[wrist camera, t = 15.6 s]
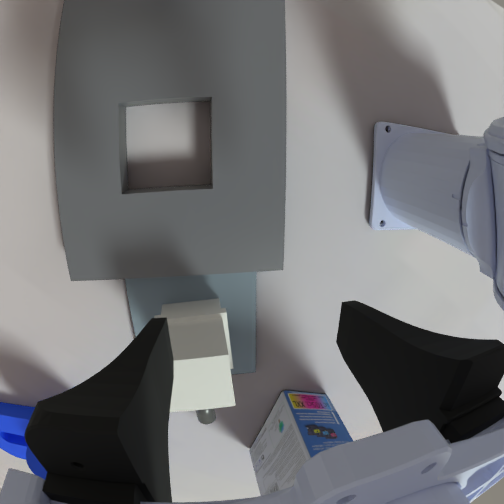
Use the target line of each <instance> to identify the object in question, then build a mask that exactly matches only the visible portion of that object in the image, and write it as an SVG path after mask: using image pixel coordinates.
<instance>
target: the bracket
mask: <svg viewBox="0 0 504 504" xmlns="http://www.w3.org/2000/svg"><path fill="white" fill-rule="evenodd" d="M34 409H35V407H29V406H22V405H15V404H9V403H3V402H0V448H1V449H3V450H4V451H6V452H8V453H9V454H11V455H14V456H16V457H19V458H22V459H26V460H27V464H28V466H29V468H30V469H31V471H32V472H33V473H34V474H35V475H37V476H39V477H41V478H43V479H44V480H45V479H46V475H47V471H46V470H45V468H44V467H43V466H42V465H41V463H40V462H39V461H38V459H37V458H36V457H35V455H34V454H33V453H32V451H31V450H30V448H29V447H28V445H27V443H26V441H25V437H24V434H25V430H26V428H27V425H28V423H29V420H30V418H31V416H32V413H33V411H34Z"/></svg>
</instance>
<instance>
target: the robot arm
mask: <svg viewBox="0 0 504 504" xmlns="http://www.w3.org/2000/svg"><path fill="white" fill-rule="evenodd" d="M386 126H387V127H388V132H386V130H385V128H386ZM382 220H383V224H382V225H380V222H381V221H382ZM369 225H370V227H371V228H372V229H374V230H396V229H418V230H421V231H423V232H425V233H427V234H429V235H431V236H433V237H435V238H437V239H439V240H441V241H443V242H445V243H447V244H450V245H452V246H454V247H455V248H457V249H459V250H461V251H463V252H465V253H467V254H469V255H471V256H473V257H475V258H476V259H477V260H478V262H479V265H480V272H482V273H483V274H485V275H487V276H489V277H490V278H492V279H494V280H493V292H494V296H495V299H496V301H497V303H498V304H499V306H500V307H501V308H502V309H503V310H504V117H502V118H499V119H496V120H494V121H493V122H492V123H491V125H490V126H489V128H488V129H487V130H485V132H484V137H477V136H466V135H453V134H447V133H442V132H438V131H433V130H428V129H423V128H418V127H413V126H407V125H401V124H395V123H389V122H383V121H381V122H377V123H376V124H375V126H374V158H373V179H372V195H371V208H370V220H369ZM336 342H337V345H338V347H339V350H340V352H341V354H342V356H343V359H344V361H345V362H346V364H347V366H348V367H349V369H350V370H351V372H352V374H353V375H354V377H355V378H356V380H357V381H358V383H359V384H360V386H361V388H362V389H363V391H364V392H365V394H366V396H367V397H368V399H369V401H370V403H371V405H372V407H373V409H374V411H375V414H376V416H377V418H378V420H379V423H380V425H381V428H382V430H383V433H379V434H376V435H373V436H370V437H366V438H363V439H359V440H356V441H352V442H349V443H345V444H341V445H337V446H335V447H332V448H330V449H327V450H324V451H321V452H319V453H318V454H316V455H315V456H313V457H312V458H310V459H309V460H307V461H306V462H305V463H304V464H303V465H302V467H301V468H300V470H299V471H298V473H297V474H296V476H295V481H294V485H293V486H292V487H289V488H286V489H283V490H280V491H276V492H273V493H270V494H266V495H263V496H259V497H254V498H245V499H236V500H225V501H211V502H184V503H172V497H171V487H170V474H169V456H168V421H169V413H170V404H171V396H172V388H173V380H174V358H173V352H172V347H171V341H170V335H169V328H168V322H167V317H165V318H151V320H150V321H149V322H148V323H147V324H146V325H145V327H144V328H143V329H142V330H141V332H140V333H139V334H138V335H137V336H136V338H135V339H134V340H133V341H132V342H131V343H130V344H129V346H128V347H127V348H126V349H125V350H124V351H123V352H122V353H121V354H120V355H119V356H118V357H117V358H116V359H114V360H113V361H112V362H111V363H110V364H109V365H107V366H106V367H105V368H104V369H102V370H101V371H100V372H98V373H97V374H95V375H94V376H92V377H91V378H89V379H87V380H86V381H84V382H83V383H81V384H79V385H77V386H75V387H74V388H72V389H70V390H67V391H65V392H63V393H61V394H59V395H56V396H53V397H51V398H48V399H45V400H43V401H39V402H38V403H37V405H36V407H35V409H34V411H33V413H32V416H31V418H30V420H29V423H28V425H27V428H26V430H25V434H24V437H25V441H26V443H27V445H28V447H29V448H30V450H31V451H32V453H33V454H34V455H35V457H36V458H37V459H38V461H39V462H40V463H41V465H42V466H43V467H44V468H45V470H46V471H47V475H46V479H45V480H44V479H43V478H41V477H39V476H37V475H34V474H30V473H26V472H23V471H19V470H15V469H12V468H10V469H8V472H7V475H6V478H5V481H4V484H3V487H2V490H1V493H0V504H471V503H470V502H471V501H473V500H474V499H476V498H477V497H478V496H480V495H481V494H482V493H484V492H485V491H486V490H488V489H489V488H490V487H491V486H493V485H494V484H495V483H497V482H498V481H499V480H500V479H501V478H503V477H504V401H503V400H502V399H501V398H500V397H499V396H500V395H501V394H502V391H501V390H500V389H499V388H498V385H499V383H500V381H501V379H502V377H503V375H504V344H503V343H502V342H500V341H499V340H479V339H467V338H459V337H452V336H448V335H443V334H438V333H434V332H431V331H428V330H424V329H421V328H418V327H415V326H412V325H410V324H407V323H405V322H402V321H400V320H398V319H395V318H393V317H391V316H389V315H387V314H385V313H382V312H380V311H378V310H376V309H374V308H372V307H370V306H367V305H365V304H363V303H360V302H358V301H348V302H342V306H341V314H340V321H339V328H338V334H337V341H336Z"/></svg>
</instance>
